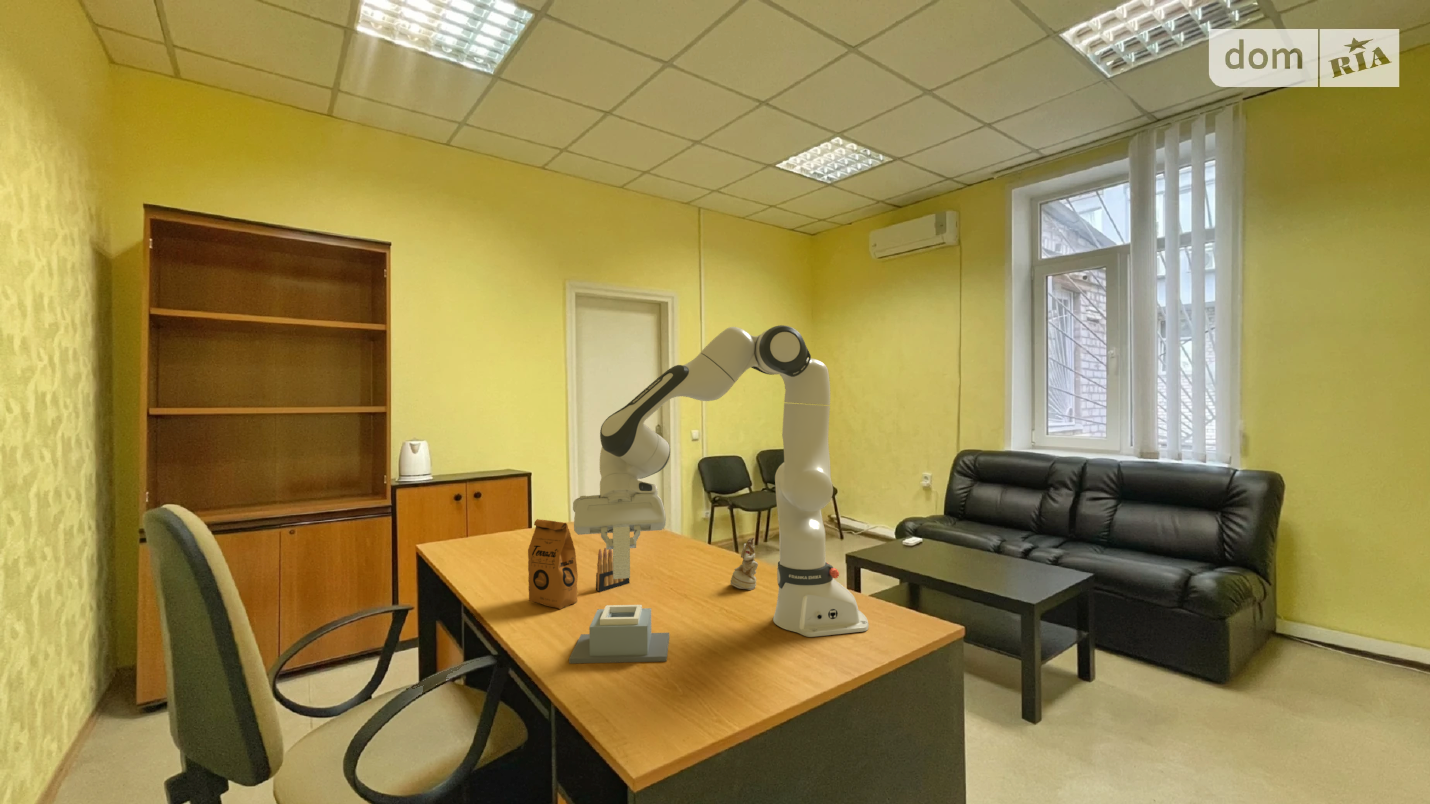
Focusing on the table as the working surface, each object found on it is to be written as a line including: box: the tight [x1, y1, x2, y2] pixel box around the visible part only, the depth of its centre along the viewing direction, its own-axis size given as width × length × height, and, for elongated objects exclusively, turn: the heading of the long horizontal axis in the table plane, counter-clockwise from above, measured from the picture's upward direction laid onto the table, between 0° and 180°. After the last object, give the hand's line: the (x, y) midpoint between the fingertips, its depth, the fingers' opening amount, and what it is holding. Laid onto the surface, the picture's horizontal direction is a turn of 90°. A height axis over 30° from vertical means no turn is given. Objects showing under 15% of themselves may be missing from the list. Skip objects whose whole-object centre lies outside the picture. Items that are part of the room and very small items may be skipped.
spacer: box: [600, 604, 643, 625], centre depth 123 cm, size 8×8×1 cm
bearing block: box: [568, 607, 670, 664], centre depth 123 cm, size 20×12×7 cm, turn 92°
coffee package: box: [527, 518, 579, 610], centre depth 152 cm, size 10×12×22 cm
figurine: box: [730, 537, 759, 591], centre depth 164 cm, size 7×7×15 cm
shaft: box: [612, 524, 631, 579], centre depth 123 cm, size 4×4×11 cm
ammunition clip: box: [595, 547, 631, 593], centre depth 164 cm, size 11×2×12 cm, turn 137°
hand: (621, 547), depth 122 cm, fingers closed on shaft, 3 cm apart
